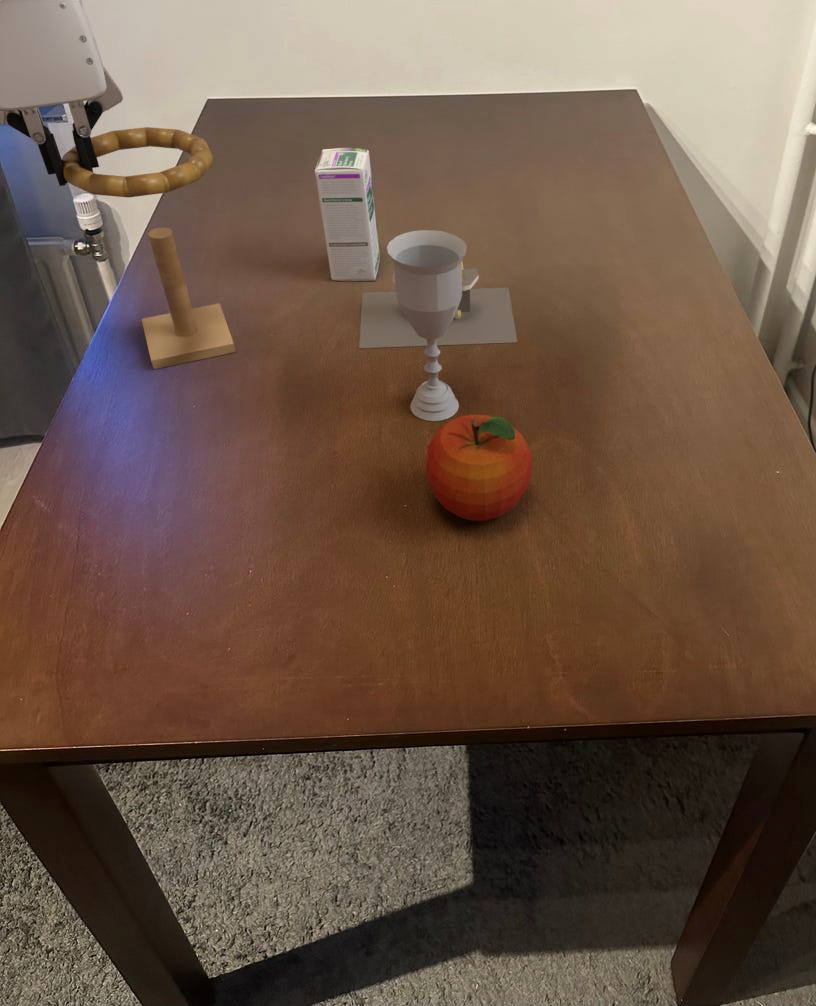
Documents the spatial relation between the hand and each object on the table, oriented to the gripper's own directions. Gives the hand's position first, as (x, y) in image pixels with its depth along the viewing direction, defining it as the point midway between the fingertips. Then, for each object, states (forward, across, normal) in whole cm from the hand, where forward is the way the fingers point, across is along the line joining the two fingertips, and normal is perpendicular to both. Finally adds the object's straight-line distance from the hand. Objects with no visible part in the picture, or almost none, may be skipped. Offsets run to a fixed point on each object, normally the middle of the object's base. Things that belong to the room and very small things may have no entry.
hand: (76, 176), depth 84 cm
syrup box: (+21, -28, -10) cm, 37 cm away
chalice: (+21, -28, +20) cm, 41 cm away
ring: (-1, -6, 0) cm, 6 cm away
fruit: (+21, -27, +35) cm, 49 cm away
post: (+21, -6, -2) cm, 22 cm away
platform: (+21, -34, +4) cm, 40 cm away
